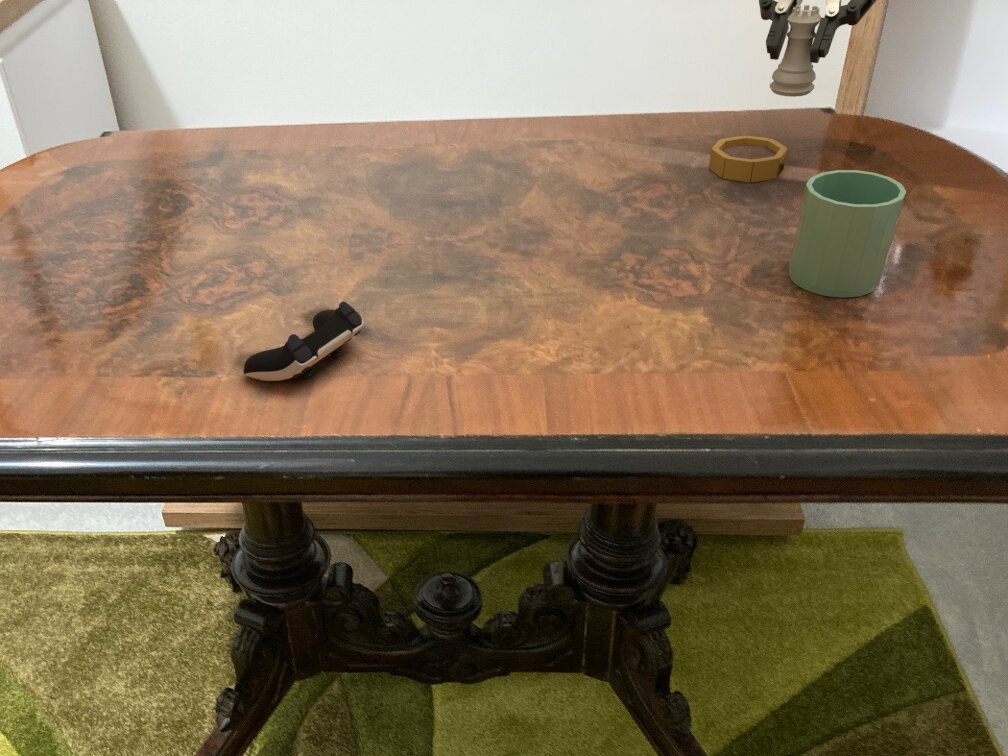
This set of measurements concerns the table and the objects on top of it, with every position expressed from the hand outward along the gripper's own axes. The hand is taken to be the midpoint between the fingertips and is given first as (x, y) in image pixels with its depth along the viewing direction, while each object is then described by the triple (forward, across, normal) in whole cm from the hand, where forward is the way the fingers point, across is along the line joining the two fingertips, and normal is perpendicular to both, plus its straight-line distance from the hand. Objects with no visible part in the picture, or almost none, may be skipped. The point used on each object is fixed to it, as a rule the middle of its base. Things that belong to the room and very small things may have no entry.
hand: (793, 56), depth 93 cm
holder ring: (+5, +5, -17) cm, 19 cm away
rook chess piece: (+2, 0, -4) cm, 5 cm away
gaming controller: (+46, +27, +24) cm, 58 cm away
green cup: (+21, -10, -1) cm, 23 cm away
